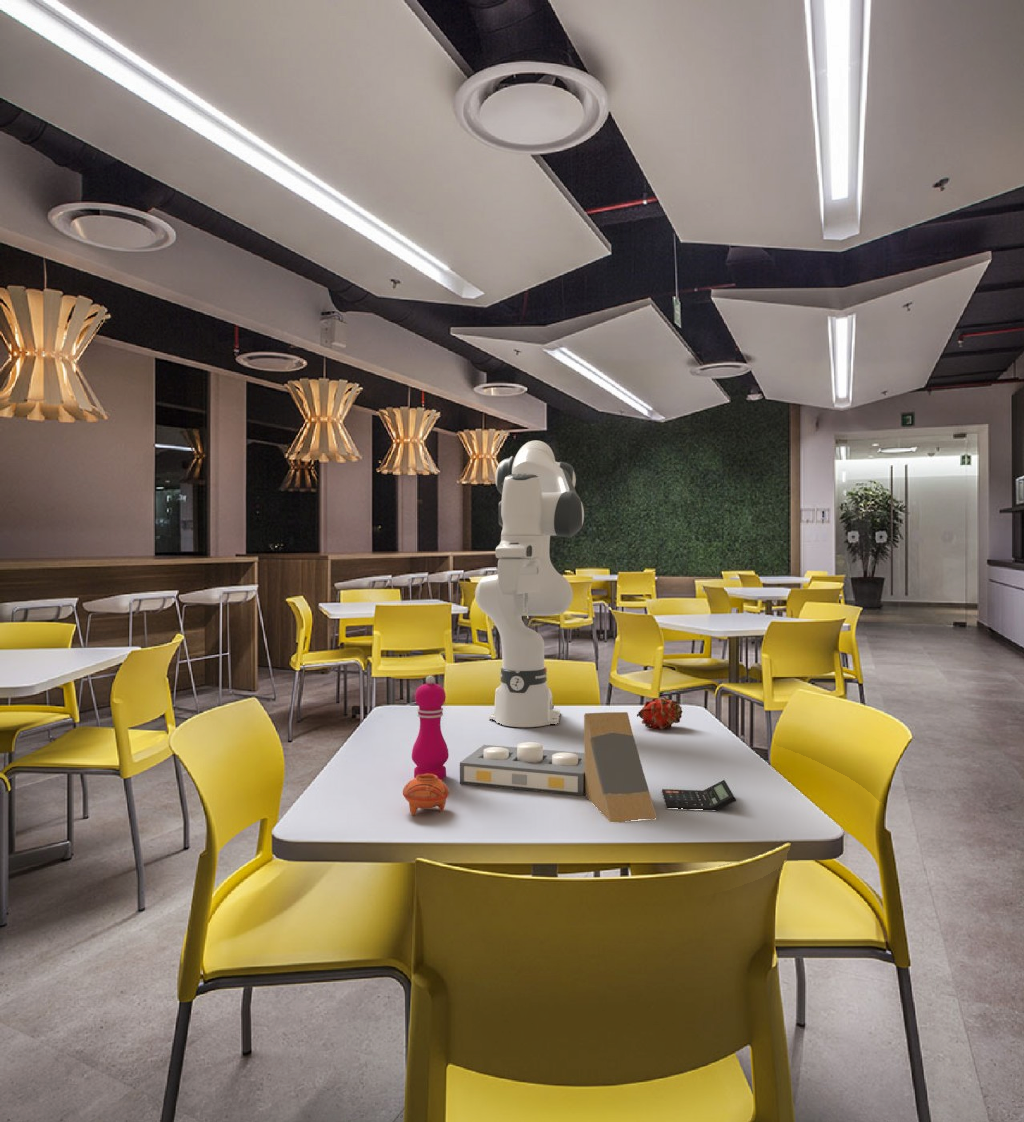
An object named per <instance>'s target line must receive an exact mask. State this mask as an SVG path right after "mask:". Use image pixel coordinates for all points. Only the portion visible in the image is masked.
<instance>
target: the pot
mask: <svg viewBox="0 0 1024 1122" xmlns="http://www.w3.org/2000/svg"><path fill="white" fill-rule="evenodd" d="M402 795H403V797H404V799H405V800H406V801H407V802H408V806H409V812H410V815H411V816H412V815H413V816H414V817H415V816H416V813H417V811H418V809H421V810H427V809H429V810H430V809H433V808H436V807H438V808H439V811H440V812H439V813H441V812H443V811H444V809H445V807H446V802H447V799H448V797H449V795H450V789H449V786H447V785H446V783H445V782H444V781H443V780H440V779H438V777H437V776H436V775H434V774H424V775H417V776H416V778H413V779H411V780H409V781H408V782H407V783H406V784H405V785H404V787H403V788H402Z"/></svg>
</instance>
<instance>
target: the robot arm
mask: <svg viewBox="0 0 1024 1122" xmlns="http://www.w3.org/2000/svg"><path fill="white" fill-rule="evenodd" d="M494 481H495V482H494V483H495V486H496V490H497V491H498V492H499V493H500V494H501V500H500V501H499V502H498V525H499V526H500V527H501V528H502V530H501V534H500V542H499V544H498V545H496V548H495V558H497V559H498V561H497V573H496V574H491V575H487V576H486V575H485V576H483V577H482V578H480V580H479V581H478V583H477V585H476V587H475V591H474V597H475V602H476V604H477V606H478V608H479V609H480V611H481V612H483V613H484V614H485V615H486V616H487V617H489V618H490V619H491V621H492V622H493V624H494V626H495V627H496V629H497V631H498V633H499V637H500V642H501V654H502V655H501V657H502V658H501V659H502V660H501V661H502V667H501V668H500V672H499V673H500V674H499V675H500V682H501V684H500V685H498V687H497V688H496V689H495V693H494V695H495V696H494V706H493V707H494V711H493V712H494V713H493V714H490V715H488V720H489V719H493V720H495V721H496V723H497V724H498V723H500V724H499V725H501V724H502V726H505V727H512V728H513V727H515V728H535V727H543V726H551V725H550V724H555V725H558V724H559V722H560V717H559V716H561V709H559V708H554V704H553V693H552V691H551V689H550V688H549V686H548V683H547V680H548V678H547V676H548V674H547V671H548V668H547V667H546V666H545V641H544V638H543V637H542V635H541V634H540V633H538V632H537V631H535V630H534V629H532V628H531V627H528V626H527V625H525V623H524V621H523V619H522V617H523V616H525V617H527V616H533V617H536V616H537V617H539V616H540V617H548V616H549V617H550V616H556V615H560V614H564V613H566V612H567V610H568V609H569V608H570V607H571V605H572V601H573V593H574V591H573V589H572V585H571V583H570V582H569V580H568V579H567V578H566V577H565V576H563V575H562V574H561V573H559V572H558V571H557V570H556V568H555V567H554V565H553V563H552V562H551V555H550V545H551V544H550V541H551V536H553V537H554V536H557V537H565V538H572V537H573V536H575V534H577V533H578V532H579V531H580V530H581V529H582V528H583V524H584V519H585V511H584V510H585V509H584V505H583V502H582V501H581V497H580V496H579V495H578V493H577V492H576V489H575V487H576V481H577V478H576V473H575V470H574V467H573V465H571V464H570V463H568V462H565V461H559V462H558V461H556V458H555V455H554V452H553V450H552V448H551V447H550V445H549V444H548V443H546V442H544V441H541V440H531V441H530V440H529V441H528V442H526V443H525V444H523V445H522V446H521V447H520V448H519V450H518V451H517V453H516V455H515V457H514V455H511V456H509V457H508V458H504V459H503V460H501V461H500V462H499V463H498V466H497V468H496V471H495V474H494ZM495 721H494V722H495ZM557 723H558V724H557Z"/></svg>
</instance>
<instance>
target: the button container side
mask: <svg viewBox="0 0 1024 1122" xmlns="http://www.w3.org/2000/svg"><path fill="white" fill-rule="evenodd" d="M552 764H555V765H566V766H577V765H578V755H576V754H573V753H556V754H553V755H552Z"/></svg>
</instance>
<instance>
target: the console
mask: <svg viewBox="0 0 1024 1122" xmlns="http://www.w3.org/2000/svg"><path fill="white" fill-rule="evenodd" d="M490 747H503V748H507V749H508V750H509V757H508V758H507V759H506V760H497V759H486V758H483V756H484V749H486V748H490ZM556 753H573V754H576V755H578V765H577V766H566V765H555V764H552V755H553V754H556ZM459 784H462V785H470V786H471V785H472V786H481V787H489V788H490V787H493V788H500V787H502V789H510V788H513V790H521V789H522V791H533V792H541V791H543V792H544V793H551V792H552V793H553V794H561V795H562V794H563V795H572V796H581V795H583V796H585V752H576V751H565V750H551V749H543V761H542V762H541V763H532V762H520V761H517V746H516V747H514V746H503V745H494V744H493V745H491V744H483V745H481V746H480V747H478V748H477V749H476V750H475V751H473V752H472V753H471V754H469V755H468V756H467V757H465V758H464V759H462V761H460V762H459ZM543 792H542V793H543Z"/></svg>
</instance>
